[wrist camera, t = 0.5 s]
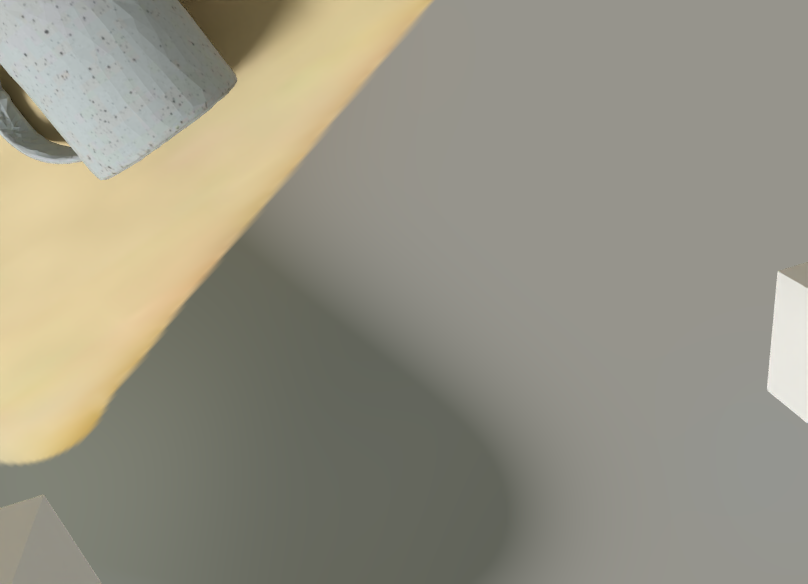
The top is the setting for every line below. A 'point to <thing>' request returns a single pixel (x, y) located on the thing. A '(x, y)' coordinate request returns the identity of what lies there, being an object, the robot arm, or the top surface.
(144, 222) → the top surface
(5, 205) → the top surface
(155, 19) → the ceramic mug
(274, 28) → the top surface
